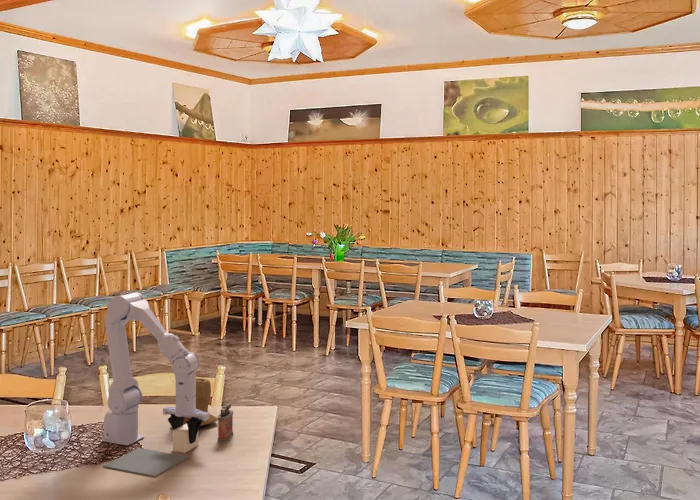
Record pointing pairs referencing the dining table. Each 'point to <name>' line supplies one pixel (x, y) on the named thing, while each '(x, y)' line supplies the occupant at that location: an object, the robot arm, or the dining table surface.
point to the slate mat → (146, 462)
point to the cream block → (182, 439)
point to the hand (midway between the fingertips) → (185, 441)
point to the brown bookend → (203, 399)
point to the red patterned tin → (225, 424)
